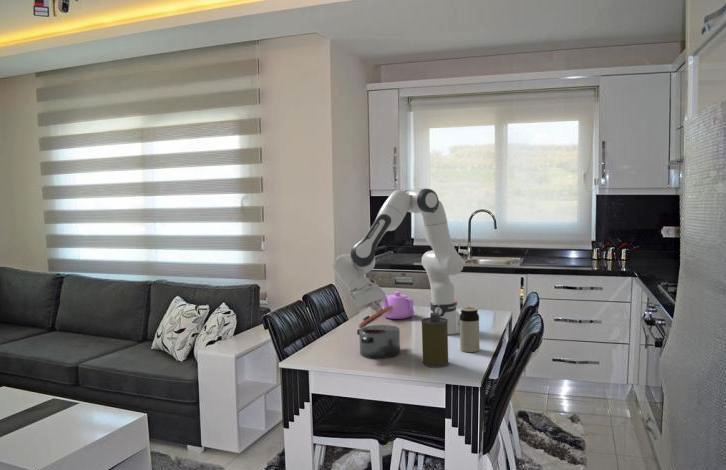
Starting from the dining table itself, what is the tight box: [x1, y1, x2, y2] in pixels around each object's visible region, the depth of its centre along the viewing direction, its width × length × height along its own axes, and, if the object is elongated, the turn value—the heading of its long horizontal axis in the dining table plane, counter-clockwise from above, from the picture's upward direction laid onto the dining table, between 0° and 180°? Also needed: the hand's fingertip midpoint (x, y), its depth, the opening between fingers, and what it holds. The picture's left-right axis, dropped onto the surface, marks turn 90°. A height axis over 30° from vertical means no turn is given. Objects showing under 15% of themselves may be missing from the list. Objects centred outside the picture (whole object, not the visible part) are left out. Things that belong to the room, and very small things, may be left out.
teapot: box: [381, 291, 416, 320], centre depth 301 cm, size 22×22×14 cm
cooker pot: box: [356, 324, 401, 360], centre depth 235 cm, size 25×18×10 cm
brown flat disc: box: [358, 306, 394, 329], centre depth 235 cm, size 17×17×3 cm
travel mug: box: [459, 305, 480, 353], centre depth 235 cm, size 8×8×18 cm
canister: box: [420, 313, 450, 369], centre depth 218 cm, size 11×10×20 cm
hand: (380, 311), depth 234 cm, fingers closed, pressing on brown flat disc
